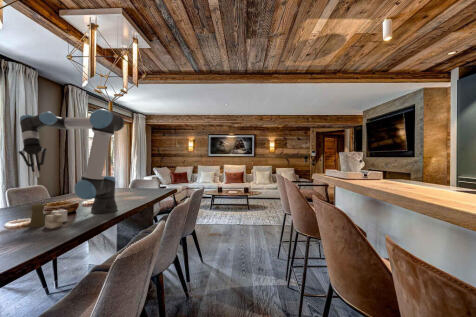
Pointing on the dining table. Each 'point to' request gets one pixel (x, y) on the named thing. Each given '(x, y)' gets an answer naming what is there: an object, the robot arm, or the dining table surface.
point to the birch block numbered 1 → (53, 220)
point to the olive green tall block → (37, 216)
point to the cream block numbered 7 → (64, 212)
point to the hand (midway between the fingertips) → (37, 176)
